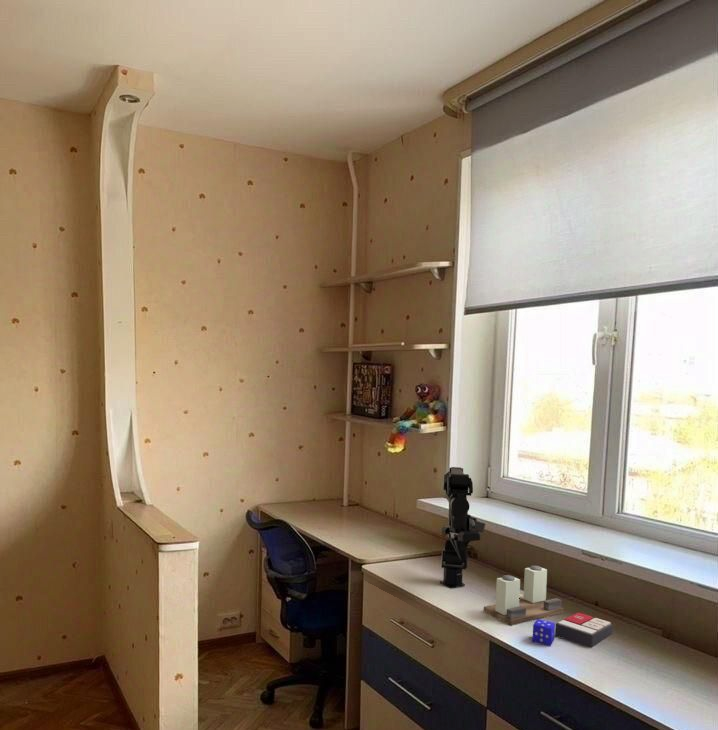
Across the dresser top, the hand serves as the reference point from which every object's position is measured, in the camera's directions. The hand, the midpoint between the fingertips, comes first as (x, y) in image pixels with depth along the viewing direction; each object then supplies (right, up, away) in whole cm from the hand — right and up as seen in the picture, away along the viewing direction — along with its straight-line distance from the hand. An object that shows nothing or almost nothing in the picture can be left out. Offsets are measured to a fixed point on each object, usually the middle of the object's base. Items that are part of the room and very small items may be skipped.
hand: (462, 559), depth 209 cm
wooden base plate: (+18, -14, -9) cm, 24 cm away
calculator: (+32, -15, -24) cm, 42 cm away
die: (+18, -14, -30) cm, 38 cm away
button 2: (+23, -12, -2) cm, 26 cm away
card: (+22, -14, +6) cm, 26 cm away
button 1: (+12, -12, -14) cm, 21 cm away
